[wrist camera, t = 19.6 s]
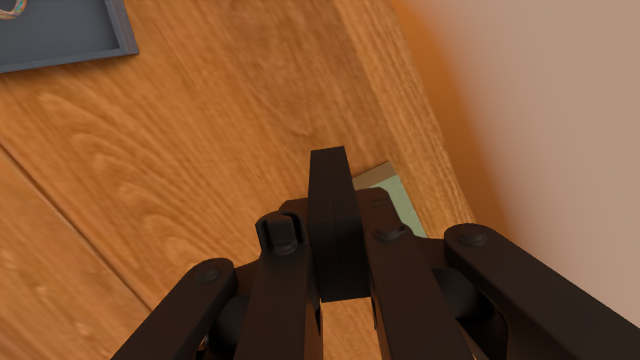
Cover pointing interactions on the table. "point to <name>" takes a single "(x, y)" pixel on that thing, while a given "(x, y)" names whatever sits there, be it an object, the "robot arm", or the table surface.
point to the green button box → (391, 193)
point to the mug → (14, 10)
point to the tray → (63, 33)
